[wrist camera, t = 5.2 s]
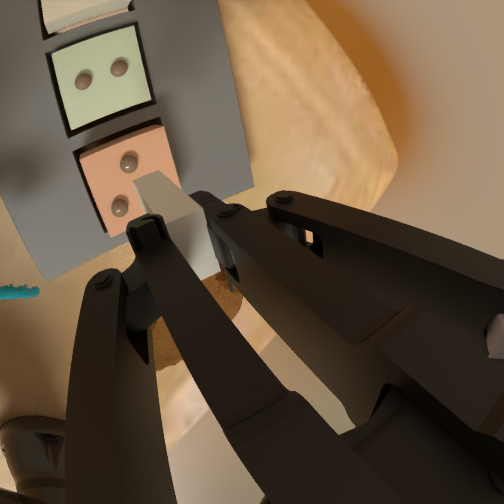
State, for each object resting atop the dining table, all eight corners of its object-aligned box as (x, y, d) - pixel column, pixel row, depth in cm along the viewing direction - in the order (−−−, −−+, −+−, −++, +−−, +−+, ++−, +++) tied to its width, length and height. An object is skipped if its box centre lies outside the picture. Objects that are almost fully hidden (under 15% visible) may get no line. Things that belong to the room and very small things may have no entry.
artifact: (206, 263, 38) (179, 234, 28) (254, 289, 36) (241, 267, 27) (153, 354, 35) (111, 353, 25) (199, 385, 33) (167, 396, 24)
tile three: (107, 223, 22) (111, 239, 19) (80, 154, 18) (79, 160, 16) (174, 193, 24) (187, 205, 21) (154, 124, 20) (165, 126, 18)
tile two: (73, 128, 19) (71, 130, 16) (55, 60, 15) (51, 53, 13) (143, 100, 21) (152, 99, 18) (127, 35, 17) (134, 24, 15)
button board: (48, 268, 22) (46, 282, 20) (-32, 5, 7) (-41, -3, 6) (241, 180, 29) (254, 186, 27) (189, -64, 14) (200, -76, 12)
